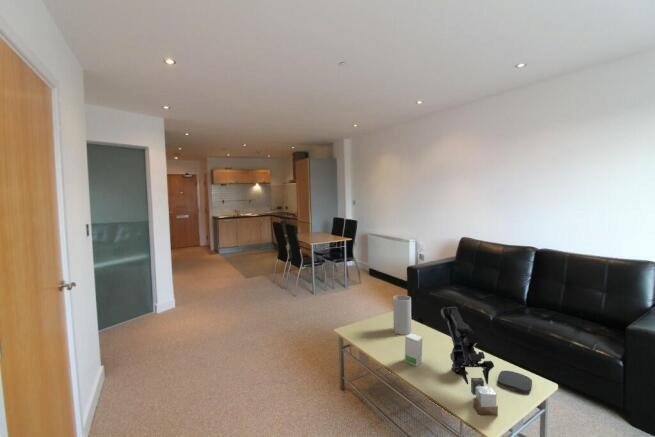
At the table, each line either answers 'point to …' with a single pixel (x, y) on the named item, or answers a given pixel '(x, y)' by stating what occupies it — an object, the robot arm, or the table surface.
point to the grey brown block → (485, 401)
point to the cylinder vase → (402, 314)
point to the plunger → (476, 384)
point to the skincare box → (413, 349)
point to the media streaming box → (515, 381)
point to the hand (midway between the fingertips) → (477, 384)
